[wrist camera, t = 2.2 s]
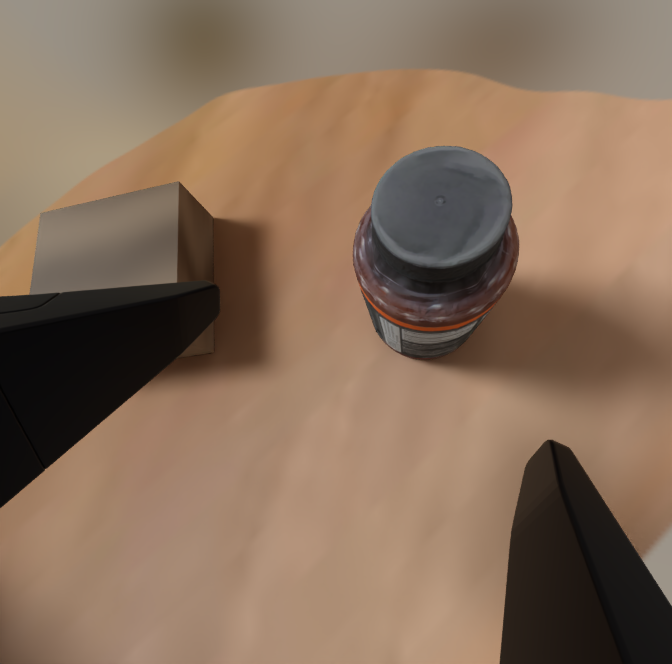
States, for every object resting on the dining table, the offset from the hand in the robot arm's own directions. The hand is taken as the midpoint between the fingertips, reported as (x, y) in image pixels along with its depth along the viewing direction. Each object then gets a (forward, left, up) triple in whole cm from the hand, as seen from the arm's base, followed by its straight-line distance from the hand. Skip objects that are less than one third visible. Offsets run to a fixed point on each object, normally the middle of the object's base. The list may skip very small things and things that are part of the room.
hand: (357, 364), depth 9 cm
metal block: (+11, +14, -12) cm, 21 cm away
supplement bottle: (+4, -4, -12) cm, 13 cm away
